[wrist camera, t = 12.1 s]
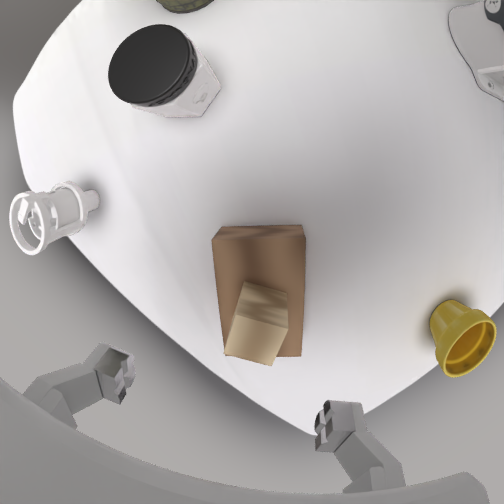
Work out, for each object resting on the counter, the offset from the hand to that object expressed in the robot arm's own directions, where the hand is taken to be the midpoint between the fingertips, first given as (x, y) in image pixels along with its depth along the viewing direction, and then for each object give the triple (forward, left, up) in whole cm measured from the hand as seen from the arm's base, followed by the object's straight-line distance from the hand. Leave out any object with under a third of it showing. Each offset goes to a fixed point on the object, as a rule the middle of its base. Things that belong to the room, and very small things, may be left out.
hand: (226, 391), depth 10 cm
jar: (+13, -15, -26) cm, 33 cm away
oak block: (-2, +8, -21) cm, 22 cm away
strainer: (+25, +2, -26) cm, 36 cm away
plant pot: (-33, +7, -26) cm, 43 cm away
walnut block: (-2, +8, -27) cm, 28 cm away
